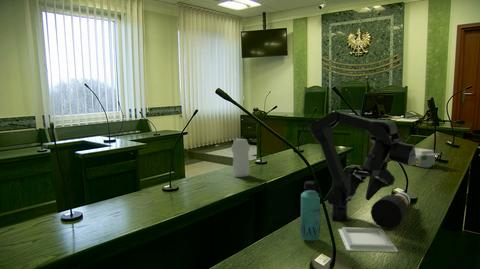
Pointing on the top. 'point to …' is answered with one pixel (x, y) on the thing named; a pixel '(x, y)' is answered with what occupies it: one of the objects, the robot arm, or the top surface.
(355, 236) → the white square tray
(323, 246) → the top surface
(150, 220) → the top surface
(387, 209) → the black cylinder
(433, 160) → the electrical outlet
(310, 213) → the beverage bottle
